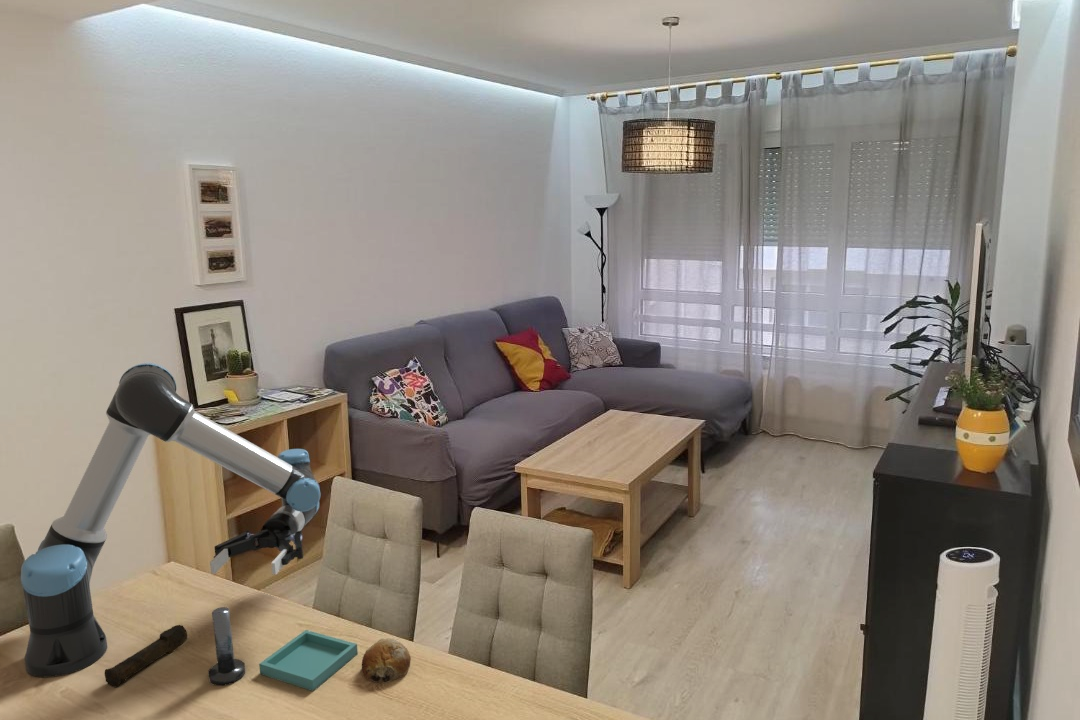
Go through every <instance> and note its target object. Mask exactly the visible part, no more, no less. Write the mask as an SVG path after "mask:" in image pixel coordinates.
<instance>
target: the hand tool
mask: <svg viewBox="0 0 1080 720" xmlns="http://www.w3.org/2000/svg"><path fill="white" fill-rule="evenodd" d="M187 639H188V632H187V629H186V627H184V625H182V624H177V625H174V626H171V627H170V628H169V629H167V630H164V631H162V632H161V633H160V634H159V638H157V639H156V640H155V641H153V642H152V643H149V645H147V646H145V647H143V648H142V649H140V650H139V651H137V652H135V653H134V654H132V655H131V656H130V657H127V658H125V659H123V660H122V661H121V662H119V663H117V664H115V665H114V666H112V667H110V668H106V669H104V679H105V682H106V683H107V685H108V686H111V687H114V688H118V687H119V686H120V685H121V683H122V684H123V683H125V682H126V680H127V679H128V678H130V677H131V676H133V675H135V674H136V673H137V672H138V671H140V670H142V669H143V668H145V667H147V666H148V665H150V664H152V663H153V662H154V661H156V660H157V659H159V658H161V657H163V656H164V655H167V654H172V653H174V652H175V651H176V650H177V649H178V648H180V647H181V646H182V644H184V642H186V640H187ZM174 650H175V651H174Z"/></svg>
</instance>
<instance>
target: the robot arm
mask: <svg viewBox="0 0 1080 720" xmlns="http://www.w3.org/2000/svg"><path fill="white" fill-rule="evenodd" d="M105 415H106V417H107V419H108V423H107V424H108V425H107V426H106V428H105V430H104V432H103V434H102V436H101V438H100V441H99V442H98V445H97V447H96V449H95V451H94V453H93V455H92V457H91V458H90V459H91V460H90V461H89V463H88V465H87V468H86V470H85V472H84V473H83V476H82V478H81V480H80V482H79V484H78V485H77V488H76V490H75V491H74V494H73V497H72V498H71V500H70V503H69V504H68V506H67V509H66V511H65V513H64V515H63V516H61V517H58V518H56V519H54V520H53V521H52V523H51V525H50V526H49V529H48V531H47V533H46V535H45V536H44V537H45V538H44V539H43V540H42V541H41V542H40V544H39V546H38V549H37V551H36V552H35V553H34V554H33V553H32V554H30V555H29V556H28V557H27V558H26V559H25V560H24V561H23V562H22V564H21V569H20V572H21V573H20V584H21V586H22V590H23V594H24V595H23V596H24V602H25V607H26V613H27V619H28V620H27V621H28V625H29V632H30V633H29V637H28V642H27V646H26V651H25V656H24V666H25V670H26V672H27V673H28V674H30V675H31V676H34V677H38V678H51V677H52V678H53V677H60V676H65V675H68V674H72V673H75V672H77V671H79V670H82V669H85V668H86V667H89V666H90V665H93V664H94V663H95V662H97V661H98V660H99V659H101V658H102V657H103V656H104V655H105V653H106V652H107V651H108V641H107V636H106V634H105V632H104V630H103V629H102V627H101V625H100V624H99V622H98V620H97V619H96V617H95V615H94V609H93V602H92V596H91V588H90V586H91V585H90V583H91V578H92V574H93V570H94V566H95V563H96V562H97V559H98V557H99V556H100V553H101V551H102V549H103V547H104V544H105V542H106V540H107V538H108V533H107V532H106V530H105V527H106V524H107V522H108V520H109V518H110V516H111V514H112V512H113V510H114V508H115V505H116V503H117V502H118V499H119V497H120V495H121V493H122V491H123V489H124V486H125V485H126V482H127V480H128V478H129V476H130V475H131V473H132V470H133V468H134V466H135V464H136V462H137V460H138V457H139V456H140V454H141V451H142V449H143V448H144V445H145V444H146V441H147V439H148V437H149V436H150V435H152V436H153V437H155V438H158V439H160V440H162V442H165V443H171V442H176V443H178V444H180V445H181V446H183V447H185V448H187V449H190V450H191V451H193V452H195V453H197V454H198V455H201V456H202V457H204V458H206V459H208V460H209V461H211V462H213V463H215V464H217V465H219V466H221V467H223V468H225V469H227V470H228V471H230V472H232V473H234V474H236V475H238V476H240V477H242V478H243V479H246V480H247V481H249V482H251V483H253V484H255V485H257V486H259V487H260V488H262V489H264V490H266V491H268V492H270V493H272V494H274V495H275V496H277V497H279V498H280V499H281V506H280V507H279V508H278V509H277V510H276V511H275V512H273V514H272V515H271V516H270V517H269V518H268V519H267V520H266V521H265V522H264V523H263V525H262V527H261V529H260V530H259V531H258V532H256V533H251V530H250V529H249V530H245V531H244V532H242V533H240V534H239V535H237V536H234V537H232V538H230V539H227V540H226V541H224V542H221V543H219V544H216V545H215V546H214V556H213V558H212V559H211V561H209V566H210V573H211V575H216V573H217V572H218V571H220V569H222V567H223V566H224V565H226V564H227V563H228V561H230V558H232V557H235V556H237V555H240V554H243V553H247V552H248V551H251V550H252V551H253V552H254V551H258V550H261V549H266V548H268V549H274V548H275V549H277V550H278V551H279V552H280V553H279V554H278V555H277V556H276V557H275V559H273V560H272V562H270V565H271V573H272V576H276V575H277V574H278V573H280V570H282V568H283V567H284V566H287V565H289V563H290V562H291V561H293V560H294V559H295V558H297V559H299V560H302V559H303V558H304V551H303V544H302V543H303V532H302V529H303V528H304V527H305V526H306V525H307V524H308V523H309V522H310V521H312V519H314V517H315V515H316V513H317V512H318V511H319V509H320V500H321V490H320V488H321V487H320V484H319V483H318V482H317V479H316V477H315V476H314V473H313V472H312V469H311V465H310V464H311V463H310V462H311V460H310V455H309V452H308V451H307V450H306V449H303V448H291V449H287V450H286V449H285V450H283V451H281V452H279V454H278V456H276V455H274V454H273V453H271V452H268V451H267V450H266V449H264V448H262V447H260V446H258V445H256V444H255V443H253V442H250V441H249V440H247V439H245V438H244V437H242V436H240V435H239V434H236V432H233V431H231V430H230V429H227V428H226V427H224V426H222V425H220V424H219V423H216V422H215V421H214V420H211V419H210V418H208V417H206V416H205V415H202V414H201V413H199V412H197V411H196V410H195V408H194V404H192V403H191V402H190V401H187V400H186V399H184V398H183V397H182V396H180V395H179V394H178V393H177V383H176V380H175V378H174V376H173V375H172V374H171V372H170V371H168V370H167V369H166V368H165V367H163V366H161V365H159V364H156V363H153V362H152V363H151V362H148V363H147V362H144V363H139V364H136V365H134V366H132V367H130V368H128V369H127V370H126V371H125V372H124V373H123V374H122V375H121V377H120V380H119V381H118V387H117V388H116V391H115V392H114V395H113V397H112V399H111V401H110V402H109V405H108V407H107V409H106V411H105ZM291 542H293V545H291V544H290V543H291ZM256 544H257V545H256ZM294 545H295V546H294ZM294 547H295V549H294Z"/></svg>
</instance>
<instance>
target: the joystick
mask: <svg viewBox="0 0 1080 720" xmlns="http://www.w3.org/2000/svg"><path fill="white" fill-rule="evenodd" d="M230 614H231V613H230V609H229V608H228V607H226V606H221V607H217V608H214V609H213V610H212V612H211V616H212V624H213V625H212V626H213V634H214V643H215V644H214V645H215V651H216V653H215V654H216V663H215V664H214V665H212V666H211V667H210V668H209V670H208V682H209V681H210V682H209V683H210V684H211V685H213V686H217V687H218V686H220V687H221V686H222V687H224V686H229V685H231V684H234V683H237V682H239V681H240V680H241V679H243V678H244V677H245V675H246V664H245V662H244V661H243V660H241V659H239V658H235V655H234V645H233V633H232V626H231V625H232V624H231V617H230Z"/></svg>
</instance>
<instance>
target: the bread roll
mask: <svg viewBox="0 0 1080 720" xmlns="http://www.w3.org/2000/svg"><path fill="white" fill-rule="evenodd" d="M411 658H412V657H411V654H410V651H409V650H408V647H406V646H405V645H404V644H403V643H401V642H400V641H398V640H396V639H394V638H380V639H378V640H377V641H376V642H375V643H373V645H371V646H370V647H369V648H368V649H366V650H365V652H364V654H363V656H362V660H361V661H362V662H361V672H362V676H364V677H365V678H366V679H367V680H369V681H371V682H375V683H379V684H381V683H382V684H383V683H388V682H392V681H395V680H397V679H399V678H402V677H403V676H405V675H406V674H407V672H408V671H409V669H410V666H411V660H412V659H411Z"/></svg>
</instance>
